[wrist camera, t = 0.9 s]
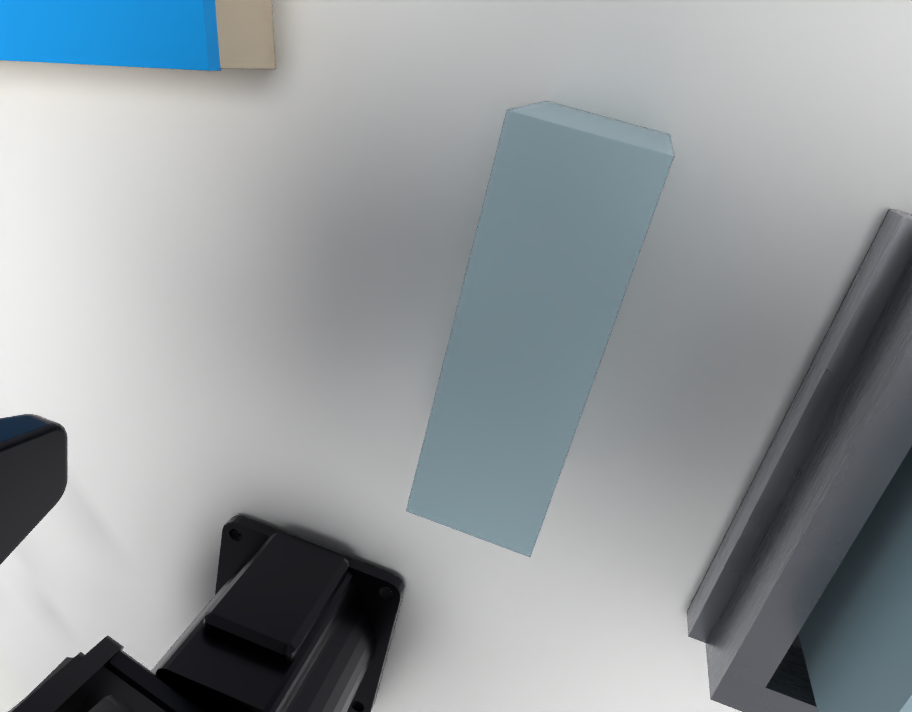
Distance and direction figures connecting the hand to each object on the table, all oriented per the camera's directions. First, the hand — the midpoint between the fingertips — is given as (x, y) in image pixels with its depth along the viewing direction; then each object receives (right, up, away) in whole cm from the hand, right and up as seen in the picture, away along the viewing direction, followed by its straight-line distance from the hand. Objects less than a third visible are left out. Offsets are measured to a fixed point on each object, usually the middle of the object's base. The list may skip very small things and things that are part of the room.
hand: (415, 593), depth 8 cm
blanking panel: (+3, +4, +11) cm, 12 cm away
